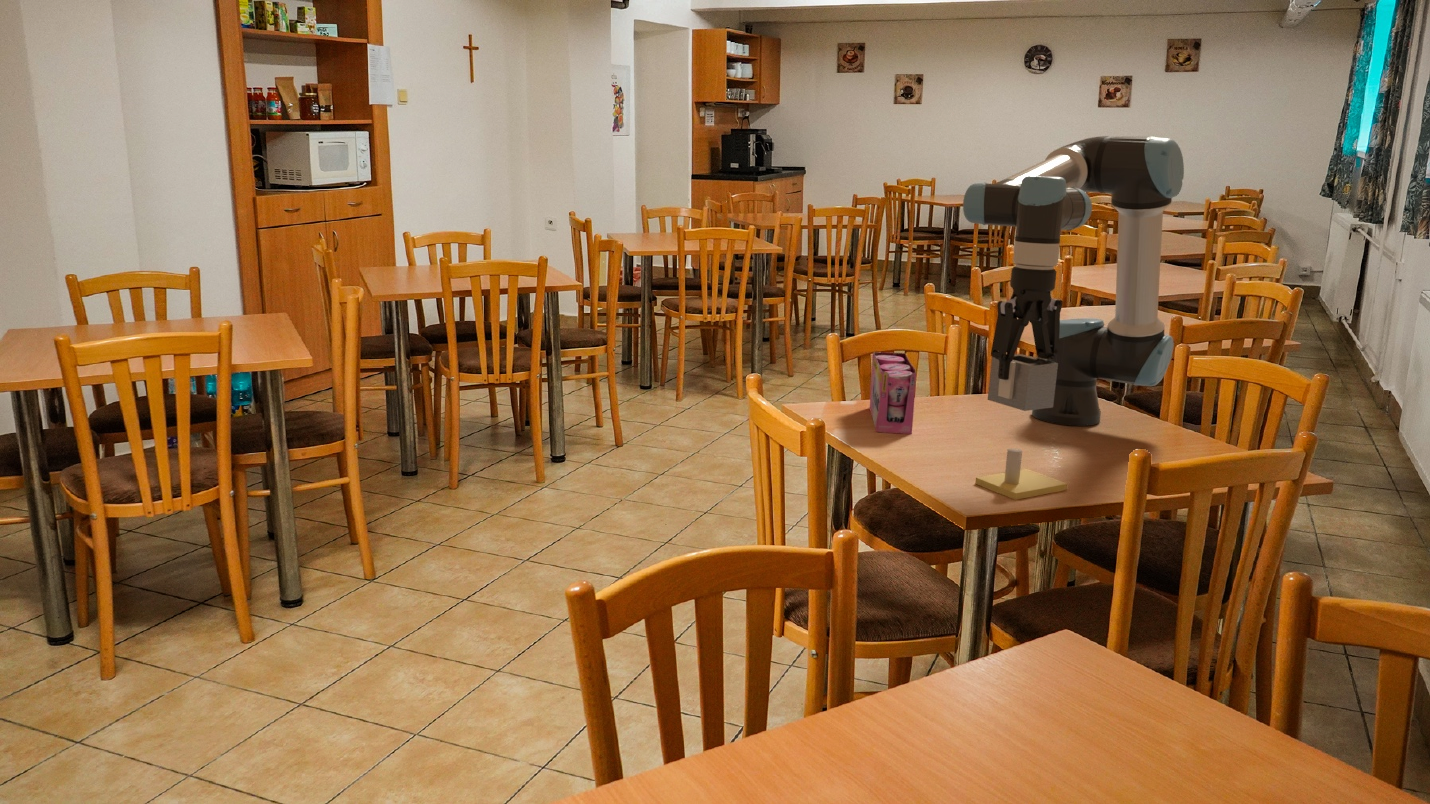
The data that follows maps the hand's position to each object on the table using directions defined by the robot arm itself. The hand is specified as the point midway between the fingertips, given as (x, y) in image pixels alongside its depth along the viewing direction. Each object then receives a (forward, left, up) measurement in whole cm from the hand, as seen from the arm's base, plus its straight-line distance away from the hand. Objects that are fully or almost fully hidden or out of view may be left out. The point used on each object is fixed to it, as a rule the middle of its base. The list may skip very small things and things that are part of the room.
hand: (1020, 395), depth 189 cm
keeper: (-2, 0, -17) cm, 18 cm away
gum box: (-11, -48, -18) cm, 53 cm away
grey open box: (0, 0, -2) cm, 2 cm away
